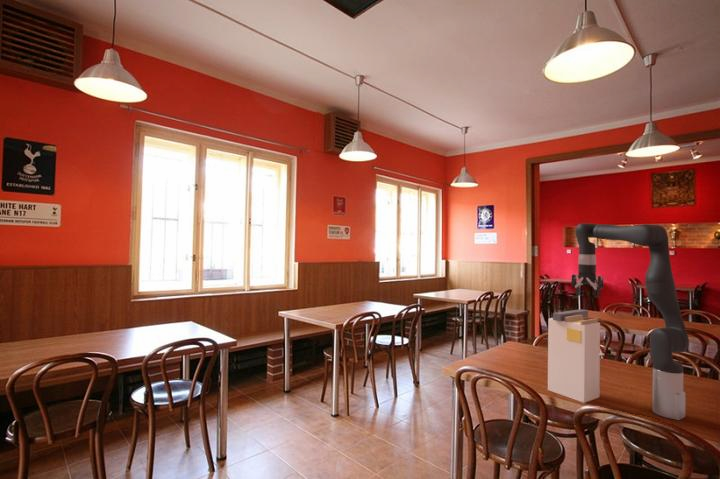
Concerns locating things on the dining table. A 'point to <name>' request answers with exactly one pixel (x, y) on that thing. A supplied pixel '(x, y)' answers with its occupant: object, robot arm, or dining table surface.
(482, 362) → the dining table surface
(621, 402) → the dining table surface
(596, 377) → the cream carton
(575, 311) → the dark gray bar
